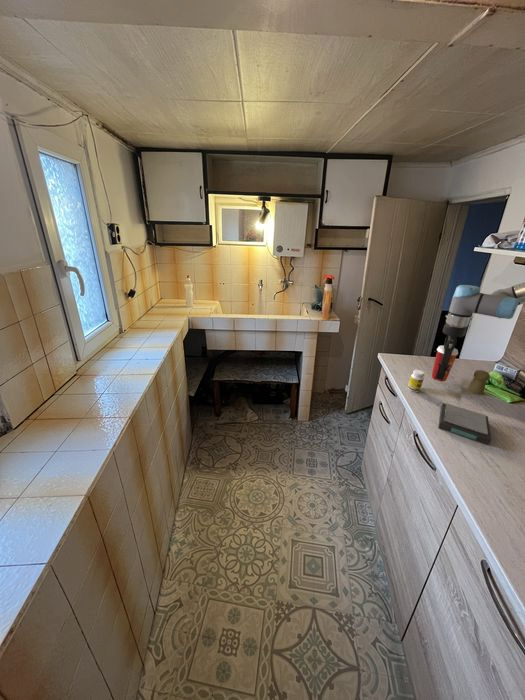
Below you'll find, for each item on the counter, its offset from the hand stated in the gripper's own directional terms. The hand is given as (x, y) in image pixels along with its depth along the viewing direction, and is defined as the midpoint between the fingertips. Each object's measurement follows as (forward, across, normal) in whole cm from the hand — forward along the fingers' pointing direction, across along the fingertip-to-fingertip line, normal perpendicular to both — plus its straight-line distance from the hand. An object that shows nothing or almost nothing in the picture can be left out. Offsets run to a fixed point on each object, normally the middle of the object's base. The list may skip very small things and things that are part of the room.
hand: (439, 375), depth 121 cm
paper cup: (+1, 0, 0) cm, 1 cm away
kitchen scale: (+5, +26, +10) cm, 28 cm away
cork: (+5, 0, +14) cm, 14 cm away
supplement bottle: (+5, +10, -8) cm, 14 cm away
